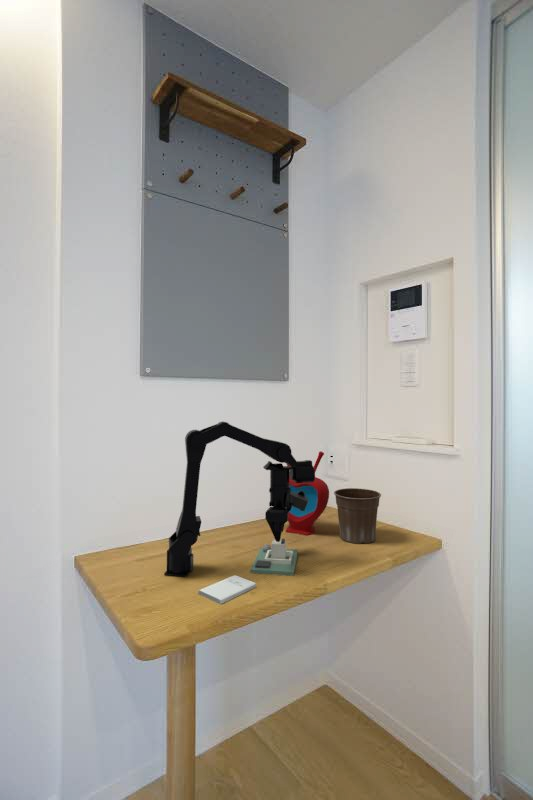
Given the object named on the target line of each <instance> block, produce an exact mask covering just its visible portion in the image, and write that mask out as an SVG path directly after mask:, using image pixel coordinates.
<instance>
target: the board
mask: <svg viewBox="0 0 533 800" xmlns="http://www.w3.org/2000/svg"><path fill="white" fill-rule="evenodd" d="M271 546H272V545H270V544H264V545H262V547H259V550H258V552H257V554H256V556H255V558H254V561H253V564H252V565H251V568H250V574H258V575H274V574H275V575H276V574H277V575H276V576H291V575H292V576H295V569H296V563H297V558H298V552H299V551H298V549H296V548H295V549H294V548H286V559H271ZM292 576H291V577H292Z"/></svg>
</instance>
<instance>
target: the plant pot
mask: <svg viewBox="0 0 533 800" xmlns="http://www.w3.org/2000/svg"><path fill="white" fill-rule="evenodd" d="M333 494H334V495H335V503H336V507H337V517H338V527H339V528H338V529H339V538H340V539H341V540H343V541H344V542H347V543H351V544H357V545H359V544H361V543H364V544H369V543H373V542H374V541H375V540H376V531H377V529H376V528H377V520H378V519H377V518H378V510H379V508H378V507H380V499H381V497H382V493H380V492H379V491H377V490H373V489H367V488H355V487H354V488H353V487H350V488H349V487H347V488H340V489H337V490H334V492H333Z"/></svg>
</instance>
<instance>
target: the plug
mask: <svg viewBox="0 0 533 800" xmlns="http://www.w3.org/2000/svg"><path fill="white" fill-rule="evenodd" d="M270 546H271V559H286V549H287V540H286V538H281V539H280V542H276V540H275V539H272V542H271V545H270Z"/></svg>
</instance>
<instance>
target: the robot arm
mask: <svg viewBox="0 0 533 800" xmlns="http://www.w3.org/2000/svg"><path fill="white" fill-rule="evenodd" d="M223 437H227V438H229V439H231V440H234V441H236V442H239V443H241V444H243V445H247V446H248V447H251V448H254V449H256V450H258V451H260V452H261V453H263V454H264V455H265V456H268V458H269V459H270V458H271V459H272V460H274V461H276V463H273V462H272V461H270V460H268V461H267V463H266V464H265V465H263V469H264V470H266V471H269V475H270V477H269V479H270V480H269V489H268V493H269V499H270V500H269V502H268V503H269V504H268V507H269V508H267V510H266V511H265V520H266V522H267V524H268V526H269V528H270V531H271V533H272V534H273V538H274V540H276V542H280V540H281V539H282V533H283V532H284V529H285V525H286V523H287V522H288V512H289V511H290V510H291V508H292V506H293V507H296V508H298V509H300V510H301V511H305V508H306V506H307V503H308V498H307V497H305V492H304V491H301V490H300V491H299V492H298V493H296V492H295V493H294V492H291V488H290V486H289V476H290V480H293V482H294V483H313V482H314V480H315V477H316V472H314V468H313V467H314V464H313V461H312V460H311V459H306V460H296V459H295V457H294V456H293V453H292V449H291V446H290V445H289V444H287V443H284V442H282V441H277V440H273V439H267V438H264V437H261V436H259V435H255V434H254V433H251V432H248V431H246V430H243V429H241V428H238V427H236V426H234V425H232V424H230V423H229V422H226V421H219V422H218V423H216V424H213V425H210V426H207V427H205V428H203V429H200V430H199V429H192V430H190V431H187V433H186V435H185V437H184V443H185V444H184V445H185V456H186V467H185V477H184V478H185V480H184V491H183V499H182V500H183V501H182V507H181V508H182V509H181V511H180V515H179V517H178V521H177V523H176V524H177V525H176V527H175V531H174V532H173V534H171V536H169V538H168V549H167V550H166V570H165V572H163V573H164V576H173V577H174V576H176V577H187V576H188V575H189V574H190V573H191V571H193V569H194V553H192V550H193V548H192V546H193V545H194V544H196V543H197V541H198V538H199V537H201V532H200V531H201V530H200V529H201V526H202V519H201V516H200V515H197V502H198V501H197V500H198V491H199V481H200V471H201V463H202V460H203V458H204V455H205V451H206V448H207V445H208V444H211V443H213V442H215V441H217V440H219V439H220V438H223ZM284 464H286V465H284ZM287 464H288V465H291V466H287ZM289 469H290V470H289Z"/></svg>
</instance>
